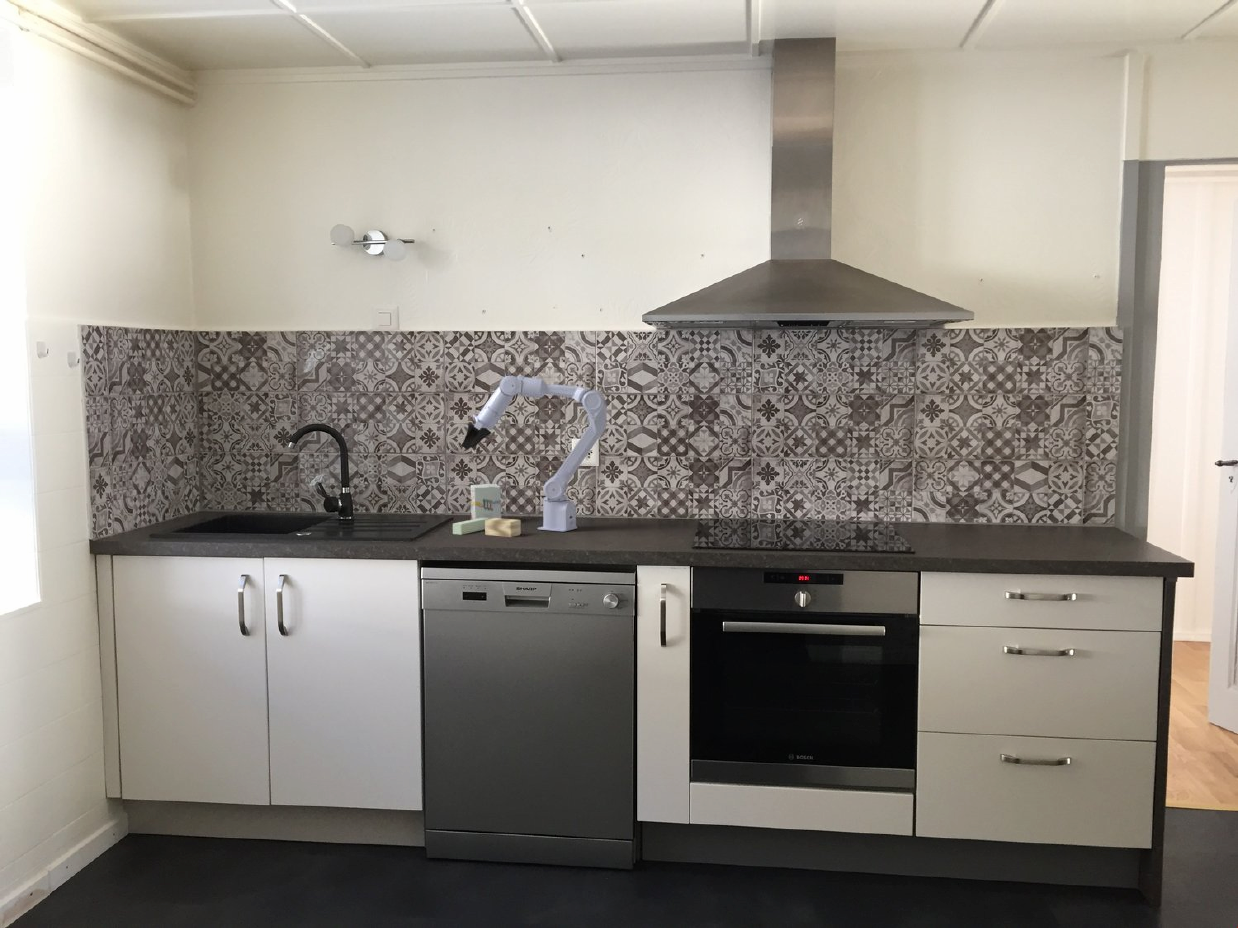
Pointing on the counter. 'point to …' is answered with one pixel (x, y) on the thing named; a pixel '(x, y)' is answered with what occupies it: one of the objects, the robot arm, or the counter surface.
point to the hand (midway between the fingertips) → (467, 447)
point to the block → (502, 527)
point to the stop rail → (469, 526)
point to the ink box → (485, 501)
